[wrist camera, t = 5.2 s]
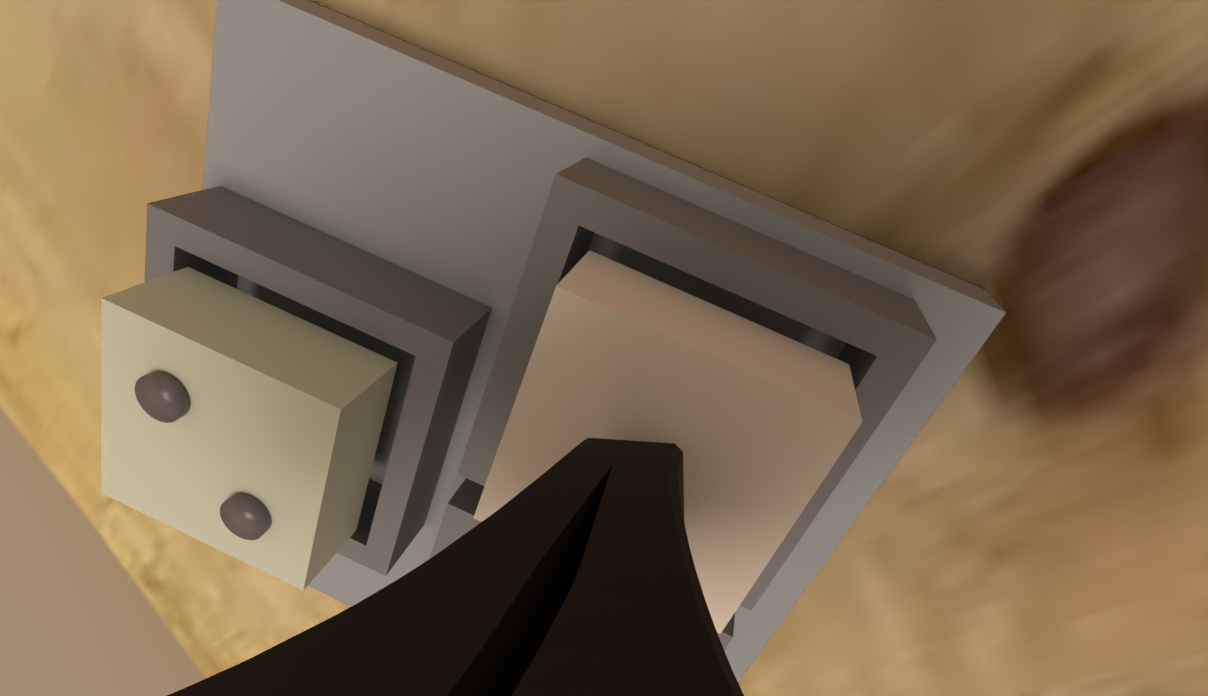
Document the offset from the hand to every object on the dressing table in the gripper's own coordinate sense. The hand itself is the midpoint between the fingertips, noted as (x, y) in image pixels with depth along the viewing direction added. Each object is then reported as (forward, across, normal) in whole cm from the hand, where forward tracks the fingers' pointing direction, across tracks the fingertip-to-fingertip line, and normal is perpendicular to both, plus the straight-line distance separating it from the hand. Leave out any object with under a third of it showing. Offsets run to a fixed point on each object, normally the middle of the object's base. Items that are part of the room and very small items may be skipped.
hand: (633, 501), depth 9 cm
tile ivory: (+2, 0, 0) cm, 2 cm away
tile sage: (+2, +8, 0) cm, 8 cm away
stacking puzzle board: (+5, +4, +2) cm, 7 cm away
